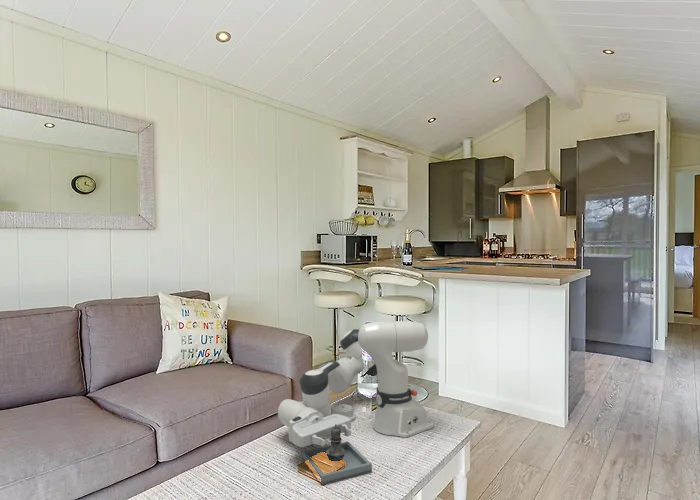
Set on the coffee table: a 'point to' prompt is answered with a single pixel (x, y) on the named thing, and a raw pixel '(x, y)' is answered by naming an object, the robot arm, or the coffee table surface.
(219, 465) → the coffee table surface
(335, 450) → the dark stone stupa
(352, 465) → the tray
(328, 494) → the coffee table surface
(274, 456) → the coffee table surface
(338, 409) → the mechanical component
